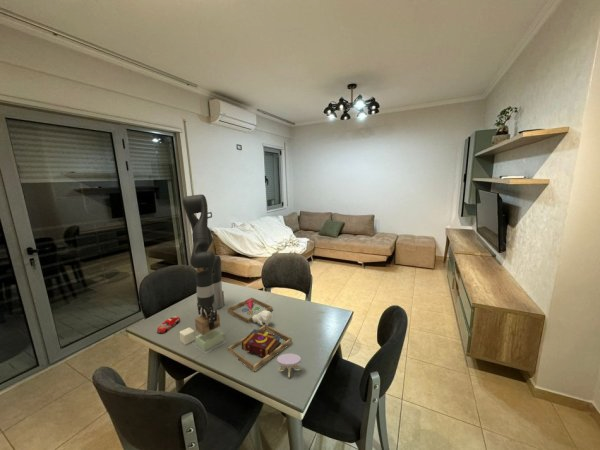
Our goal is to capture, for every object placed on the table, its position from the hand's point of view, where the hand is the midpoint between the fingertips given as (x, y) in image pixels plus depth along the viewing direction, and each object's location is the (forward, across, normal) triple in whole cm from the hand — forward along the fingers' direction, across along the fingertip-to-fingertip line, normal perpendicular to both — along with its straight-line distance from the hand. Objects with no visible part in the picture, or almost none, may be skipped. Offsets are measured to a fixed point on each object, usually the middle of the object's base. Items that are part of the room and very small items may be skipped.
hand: (208, 326), depth 116 cm
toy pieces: (+10, +11, -34) cm, 37 cm away
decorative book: (+10, -21, -14) cm, 27 cm away
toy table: (+10, -41, -12) cm, 44 cm away
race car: (+10, +31, +6) cm, 33 cm away
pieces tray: (+10, +9, -32) cm, 35 cm away
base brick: (+9, 0, 0) cm, 9 cm away
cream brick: (+10, +10, +6) cm, 15 cm away
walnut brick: (+1, 0, 0) cm, 1 cm away
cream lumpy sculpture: (+10, -6, -28) cm, 30 cm away
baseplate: (+10, 0, 0) cm, 10 cm away
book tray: (+10, -21, -14) cm, 27 cm away
